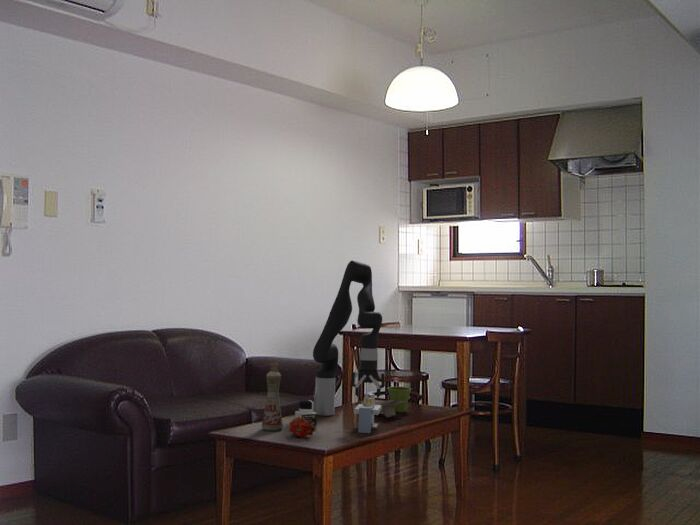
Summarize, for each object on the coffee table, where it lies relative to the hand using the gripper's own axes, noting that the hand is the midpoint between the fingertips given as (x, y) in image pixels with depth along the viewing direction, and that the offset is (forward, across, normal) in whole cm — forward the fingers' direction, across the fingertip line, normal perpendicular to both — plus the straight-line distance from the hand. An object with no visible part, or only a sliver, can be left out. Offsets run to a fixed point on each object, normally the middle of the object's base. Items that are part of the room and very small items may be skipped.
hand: (367, 397), depth 342 cm
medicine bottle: (+14, +25, +7) cm, 29 cm away
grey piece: (+14, 0, -3) cm, 14 cm away
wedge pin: (+14, 0, 0) cm, 14 cm away
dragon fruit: (+14, +23, +24) cm, 36 cm away
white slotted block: (+14, -3, -34) cm, 37 cm away
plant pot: (+14, -9, -52) cm, 55 cm away
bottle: (+14, +38, +12) cm, 42 cm away
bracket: (+14, 0, +2) cm, 14 cm away
